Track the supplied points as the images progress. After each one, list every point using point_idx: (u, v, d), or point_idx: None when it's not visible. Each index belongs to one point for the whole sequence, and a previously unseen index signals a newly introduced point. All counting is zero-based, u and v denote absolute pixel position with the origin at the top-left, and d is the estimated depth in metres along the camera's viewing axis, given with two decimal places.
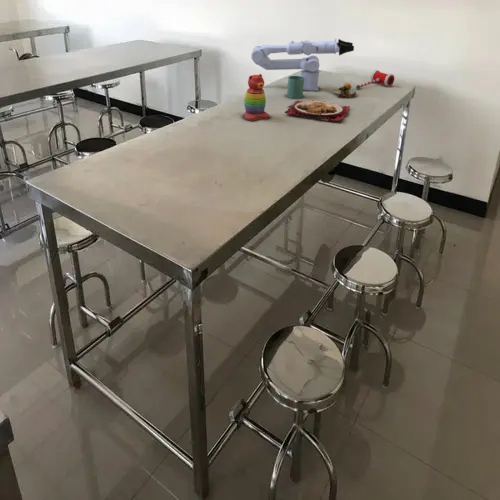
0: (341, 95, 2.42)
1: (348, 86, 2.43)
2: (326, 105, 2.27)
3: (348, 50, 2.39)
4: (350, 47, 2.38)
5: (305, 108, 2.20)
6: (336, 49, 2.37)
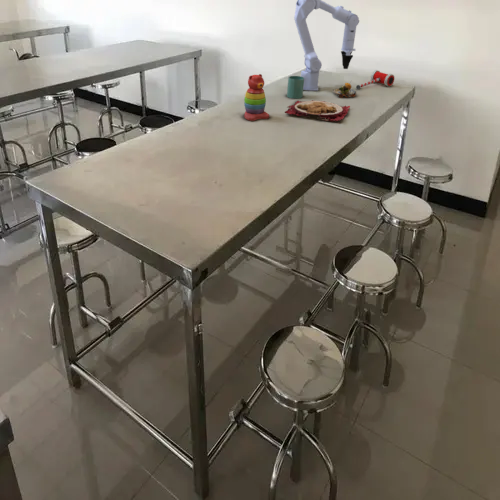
0: (341, 95, 2.42)
1: (348, 86, 2.43)
2: (326, 105, 2.27)
3: (344, 63, 2.48)
4: (347, 65, 2.49)
5: (305, 108, 2.20)
6: (349, 52, 2.42)
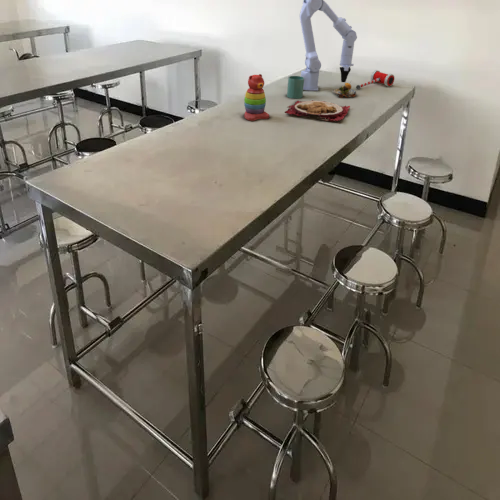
0: (341, 95, 2.42)
1: (348, 86, 2.43)
2: (326, 105, 2.27)
3: (342, 77, 2.54)
4: (344, 79, 2.54)
5: (305, 108, 2.20)
6: (347, 68, 2.45)
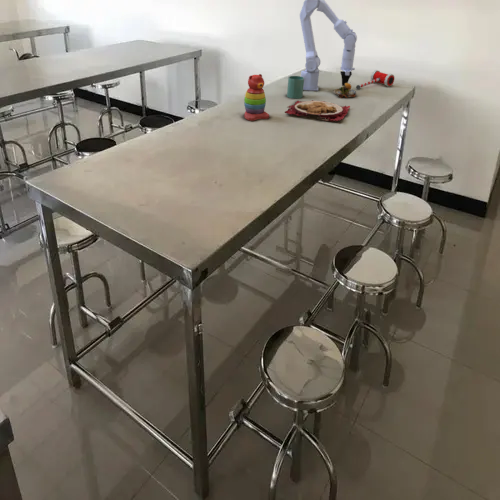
0: (341, 95, 2.42)
1: (348, 86, 2.43)
2: (326, 105, 2.27)
3: (343, 81, 2.48)
4: None
5: (305, 108, 2.20)
6: (348, 72, 2.39)
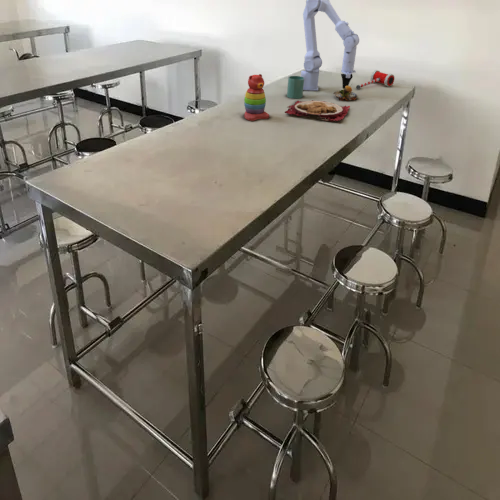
0: (341, 98, 2.38)
1: (349, 89, 2.38)
2: (326, 105, 2.27)
3: (344, 84, 2.43)
4: None
5: (305, 108, 2.20)
6: (349, 75, 2.35)
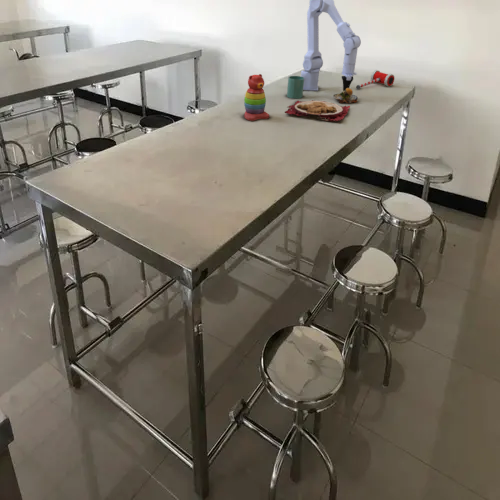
0: (342, 101, 2.34)
1: (349, 91, 2.35)
2: (326, 105, 2.27)
3: (344, 86, 2.40)
4: None
5: (305, 108, 2.20)
6: (349, 77, 2.31)
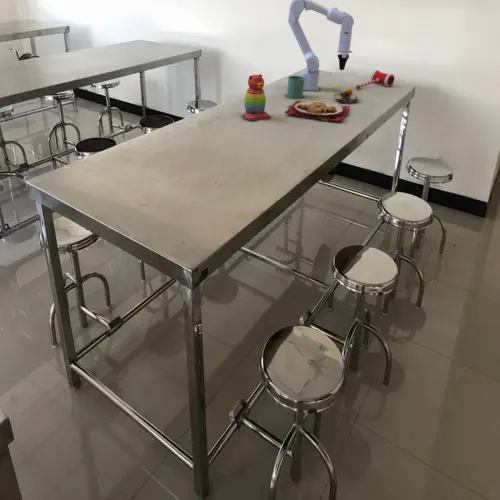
0: (342, 101, 2.34)
1: (349, 91, 2.35)
2: (326, 105, 2.27)
3: (340, 64, 2.46)
4: (343, 66, 2.47)
5: (305, 108, 2.20)
6: (345, 54, 2.38)
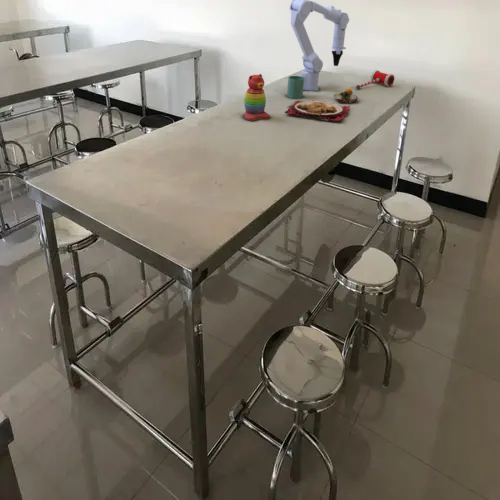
0: (342, 101, 2.34)
1: (349, 91, 2.35)
2: (326, 105, 2.27)
3: (334, 60, 2.53)
4: (337, 62, 2.54)
5: (305, 108, 2.20)
6: (339, 51, 2.45)
